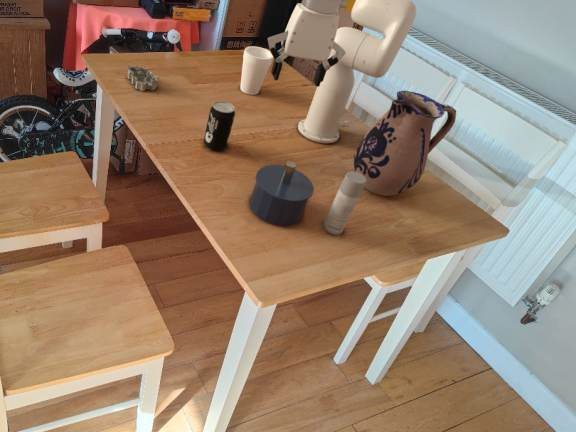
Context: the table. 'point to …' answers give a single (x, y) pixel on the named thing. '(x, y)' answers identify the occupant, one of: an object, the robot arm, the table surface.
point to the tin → (275, 208)
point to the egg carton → (142, 78)
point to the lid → (284, 182)
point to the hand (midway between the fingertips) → (295, 80)
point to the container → (344, 202)
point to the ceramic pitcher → (400, 143)
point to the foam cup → (254, 69)
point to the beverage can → (219, 125)
